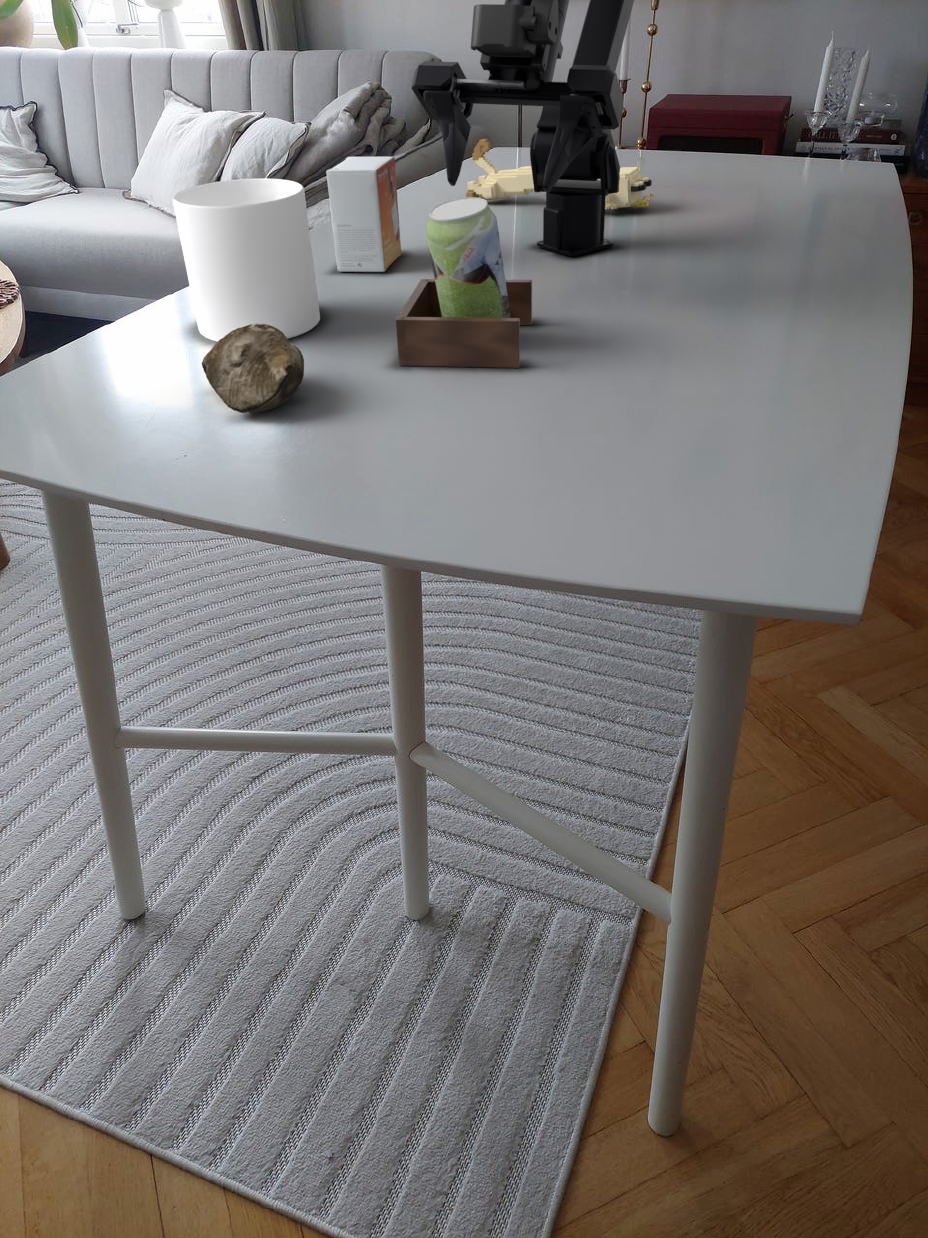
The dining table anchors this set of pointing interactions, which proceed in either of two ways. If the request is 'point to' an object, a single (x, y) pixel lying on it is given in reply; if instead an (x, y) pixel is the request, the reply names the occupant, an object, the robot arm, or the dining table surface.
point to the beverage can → (467, 259)
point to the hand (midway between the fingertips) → (497, 186)
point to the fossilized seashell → (254, 368)
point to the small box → (364, 213)
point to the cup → (248, 255)
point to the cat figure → (522, 184)
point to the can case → (461, 331)
